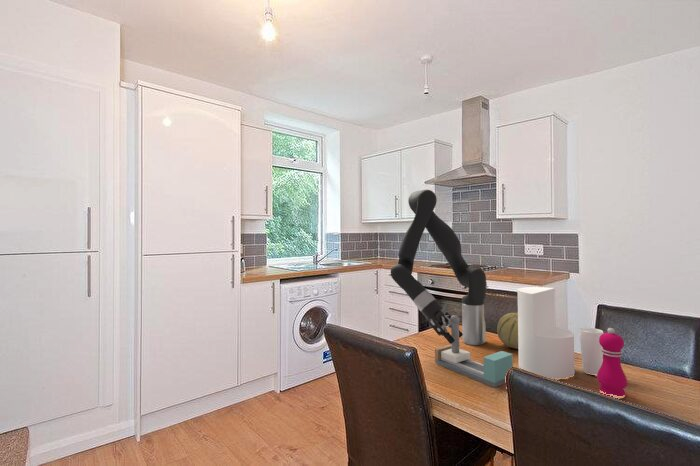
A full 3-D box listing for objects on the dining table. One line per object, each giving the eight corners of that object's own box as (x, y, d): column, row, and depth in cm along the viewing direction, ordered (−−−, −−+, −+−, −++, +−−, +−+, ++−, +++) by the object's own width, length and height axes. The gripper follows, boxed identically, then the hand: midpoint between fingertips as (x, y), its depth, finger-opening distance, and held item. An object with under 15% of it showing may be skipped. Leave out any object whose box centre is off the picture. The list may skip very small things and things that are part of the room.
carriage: (455, 352, 134) (454, 311, 134) (470, 358, 128) (469, 315, 128) (440, 357, 130) (440, 314, 129) (456, 363, 124) (455, 318, 124)
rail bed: (452, 357, 136) (452, 335, 136) (512, 379, 115) (512, 354, 115) (435, 363, 131) (434, 340, 131) (494, 387, 110) (494, 360, 110)
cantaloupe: (509, 340, 156) (508, 306, 156) (542, 348, 144) (542, 312, 144) (489, 346, 148) (489, 311, 148) (523, 356, 136) (522, 318, 136)
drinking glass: (600, 371, 121) (599, 328, 121) (607, 379, 115) (606, 333, 114) (577, 368, 123) (577, 326, 123) (583, 376, 117) (583, 332, 117)
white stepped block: (509, 368, 125) (508, 290, 125) (532, 357, 135) (531, 285, 135) (562, 384, 111) (560, 297, 111) (582, 370, 121) (581, 291, 121)
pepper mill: (591, 389, 107) (590, 325, 107) (613, 388, 108) (612, 324, 108) (610, 401, 100) (609, 332, 100) (634, 399, 101) (633, 330, 100)
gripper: (426, 302, 128) (457, 338, 121) (441, 295, 139) (470, 328, 132) (413, 314, 131) (443, 350, 124) (429, 307, 142) (457, 340, 136)
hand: (457, 339), depth 128 cm, fingers open, 8 cm apart
